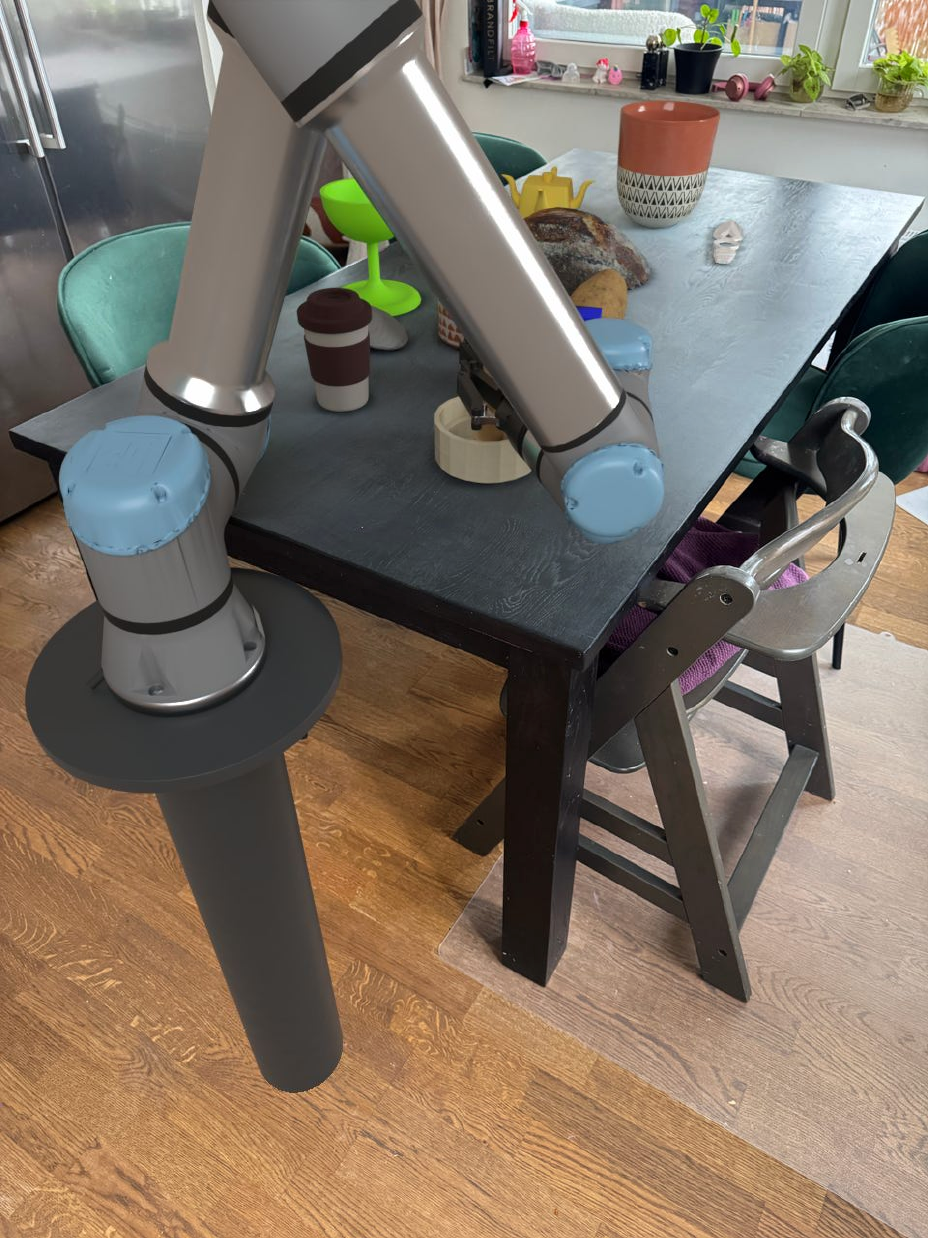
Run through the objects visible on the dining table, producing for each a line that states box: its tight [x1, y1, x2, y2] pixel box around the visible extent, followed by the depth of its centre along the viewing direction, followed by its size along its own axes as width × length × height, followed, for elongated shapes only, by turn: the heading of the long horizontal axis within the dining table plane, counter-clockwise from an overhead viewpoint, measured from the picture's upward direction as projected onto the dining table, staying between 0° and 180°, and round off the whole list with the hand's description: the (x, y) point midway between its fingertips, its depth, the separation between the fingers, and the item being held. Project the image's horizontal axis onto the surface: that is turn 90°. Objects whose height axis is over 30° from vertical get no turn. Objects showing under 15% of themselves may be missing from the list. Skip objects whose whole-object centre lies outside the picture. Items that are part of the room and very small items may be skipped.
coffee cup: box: [296, 287, 372, 413], centre depth 118 cm, size 10×10×15 cm
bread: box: [524, 207, 652, 297], centre depth 160 cm, size 27×32×10 cm
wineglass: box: [319, 177, 422, 317], centre depth 145 cm, size 16×16×18 cm
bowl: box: [433, 395, 532, 484], centre depth 109 cm, size 13×13×6 cm
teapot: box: [501, 166, 596, 219], centre depth 182 cm, size 15×14×10 cm
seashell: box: [368, 306, 408, 351], centre depth 136 cm, size 12×6×10 cm
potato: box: [570, 269, 628, 320], centre depth 137 cm, size 9×16×9 cm, turn 151°
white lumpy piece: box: [712, 219, 744, 265], centre depth 175 cm, size 6×28×1 cm, turn 163°
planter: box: [616, 100, 722, 229], centre depth 177 cm, size 20×20×21 cm
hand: (477, 350), depth 107 cm, fingers closed on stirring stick, 3 cm apart
